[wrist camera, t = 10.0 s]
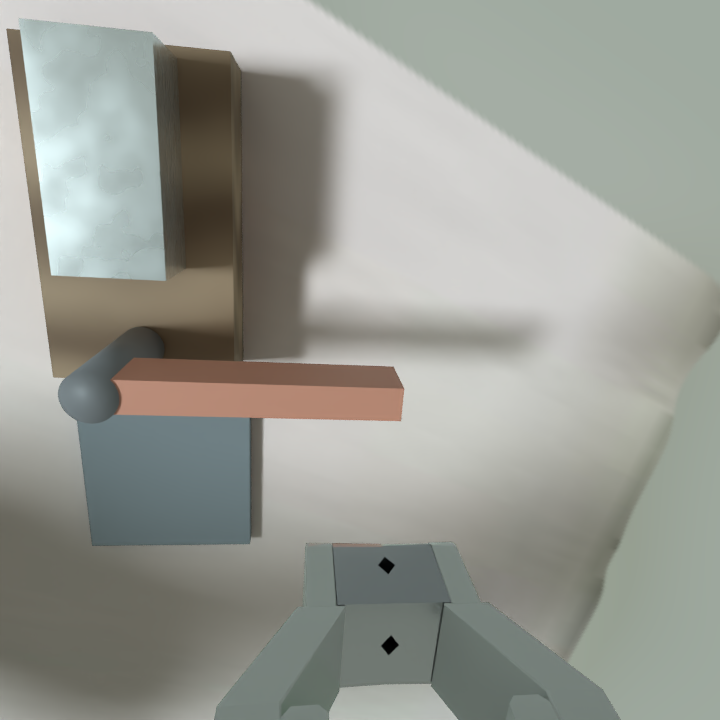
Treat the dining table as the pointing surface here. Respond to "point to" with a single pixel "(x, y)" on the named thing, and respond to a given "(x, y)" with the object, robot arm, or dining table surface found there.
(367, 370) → the cam lever
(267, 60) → the dining table surface
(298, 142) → the dining table surface
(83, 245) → the grey-blue rectangular block
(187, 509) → the pad
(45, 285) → the body
